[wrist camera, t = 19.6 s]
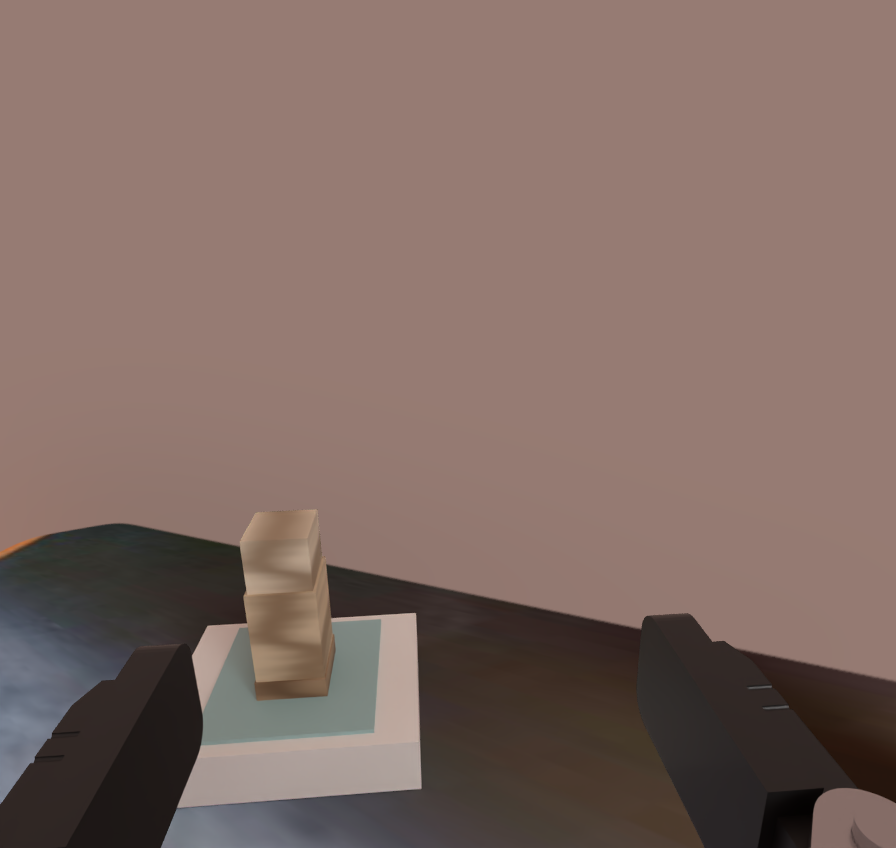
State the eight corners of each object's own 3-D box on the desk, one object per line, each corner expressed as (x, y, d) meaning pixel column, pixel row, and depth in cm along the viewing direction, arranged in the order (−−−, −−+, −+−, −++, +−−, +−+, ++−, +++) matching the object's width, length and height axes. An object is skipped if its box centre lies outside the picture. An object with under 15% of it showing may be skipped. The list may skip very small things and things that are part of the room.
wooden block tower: (335, 649, 47) (322, 507, 43) (327, 696, 42) (311, 540, 38) (272, 653, 47) (253, 510, 43) (256, 700, 42) (233, 544, 38)
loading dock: (417, 651, 53) (415, 610, 52) (421, 788, 40) (418, 738, 38) (214, 664, 52) (207, 622, 51) (147, 810, 39) (136, 759, 37)
